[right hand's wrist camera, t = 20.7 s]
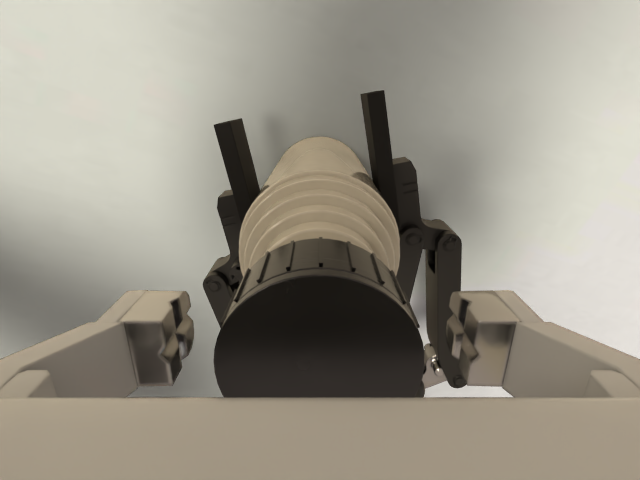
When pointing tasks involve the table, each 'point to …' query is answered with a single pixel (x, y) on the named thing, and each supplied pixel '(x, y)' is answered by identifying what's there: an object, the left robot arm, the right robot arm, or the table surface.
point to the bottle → (319, 205)
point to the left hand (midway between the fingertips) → (299, 108)
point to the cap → (319, 327)
